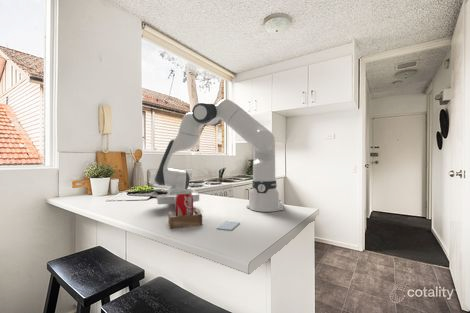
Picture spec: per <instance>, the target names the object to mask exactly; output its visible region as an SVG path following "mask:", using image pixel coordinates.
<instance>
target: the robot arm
mask: <svg viewBox="0 0 470 313" xmlns="http://www.w3.org/2000/svg"><path fill="white" fill-rule="evenodd" d="M221 121H223V123H224V124H226V125H227V126H229V128H231V129H232V130H233V131H234V132H236V134H238V135H239V137H241V139H242V140H244V141H245V142H246V143H247V144H249V145H250V146H251V147H252V148H253V161H252V181H251V182H252V183H251V187H252V189H251V190H250V191H249V199H248V202H249V203H248V204H247V205H246V206H245V207H246V208H247V209H250V210H252V211H255V212H265V213H266V212H269V213H270V212H276V211H277V212H278V211H284V210H285V209H284V204H283V202H282V201H281V199H280V192H279V191H278V189H277V186H278V185H277V180H276V139H275V136H274V134H273V133H272V132H271V131H270V130H269V129H267V127H265V126H264V125H263V124H261V123H260V122H259V121H258V120H256V119H255V118H254V117H253V116H251V115H250V114H249V113H248V112H247V111H245V110H244V109H243V108H242V107H240V105H238V104H237V103H235V102H234V101H232V100H230V99H228V98H223V99H221V100H220V101H219V102H218V103H217V104H214V103H212V102H205V101H204V102H198V103H196V104H194V106H193V108H192V111H191V112H187V113H185V114H184V115H183V117H182V119H181V122H180V126H179V129H178V132H177V135H176V136H175V137H174V138H172V139H170V141H169V142H168V144H167V147H166V149H165V152H164V154H163V155H162V158H161V161H160V163H159V166H158V168H157V169H156V171H155V173H154V177H153V178H154V181H155V183H156V184H157V185H158V186H164V187H165V186H168V187H169V188H168V191H167V193H166V194H159V195H158V196H157V197H156V200H157V205H167V204H169V205H170V204H172V205H173V206H175V199H176V195H177V192H183V191H189V192H191V194H192V196H193V203H194V202H199V201H200V193H198V191H196V190H195V189H194V188H193V189H192V188H191V189H190V188H189V185H190V180H191V179H190V178H191V177H190V175H189V173H188V171H186V170H182V169H177V168H176V169H175V168H170V167H168V166H169V163H170V162H171V158H172V156H173V155H174V154H175V153H177V152H181V151H182V152H183V151H189V150H191V149H193V148H194V147H196V145H197V143H198V142H199V137H200V134H201V133H200V132H201V129H202V128H203V127H204V126H215V125H217V124H219V123H220V122H221Z"/></svg>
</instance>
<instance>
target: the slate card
mask: <svg viewBox="0 0 470 313" xmlns="http://www.w3.org/2000/svg"><path fill="white" fill-rule="evenodd" d="M239 225H240V222H238V221H230V220H228V221H227V220H225V221H223V222H222V223H221V224H220V225H218V226H217V227H216V230H219V231H221V230H222V231H231V232H232V231H233V230H235V228H237V227H238V226H239Z"/></svg>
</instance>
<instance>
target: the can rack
mask: <svg viewBox="0 0 470 313" xmlns="http://www.w3.org/2000/svg"><path fill="white" fill-rule="evenodd" d="M168 224H169V228H170V229H178V228H179V229H180V228H187V227H196V226H197V227H198V226H203V214H202V212H201V211H200V210H199V208H198V209H197V208H196V209H194V214H193V215H185V216H176V215H175V216H174V215H173V212H172V211H168Z"/></svg>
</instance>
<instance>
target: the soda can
mask: <svg viewBox="0 0 470 313" xmlns="http://www.w3.org/2000/svg"><path fill="white" fill-rule="evenodd" d="M174 206H175V207H174V208H175V209H174V210H175V216H185V215H194V202H193V196H192V194H191V192H189V191H183V192H177V195H176V199H175V205H174Z"/></svg>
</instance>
